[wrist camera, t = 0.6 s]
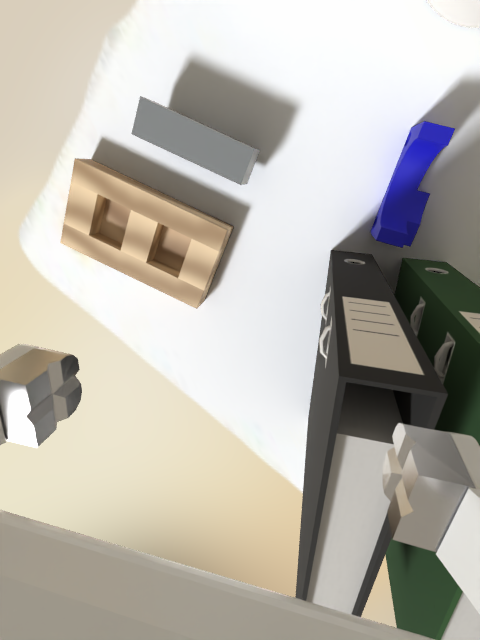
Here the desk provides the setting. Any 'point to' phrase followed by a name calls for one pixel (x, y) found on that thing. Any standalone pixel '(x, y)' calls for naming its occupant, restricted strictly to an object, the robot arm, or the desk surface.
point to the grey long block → (194, 141)
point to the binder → (385, 433)
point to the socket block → (143, 232)
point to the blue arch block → (409, 185)
